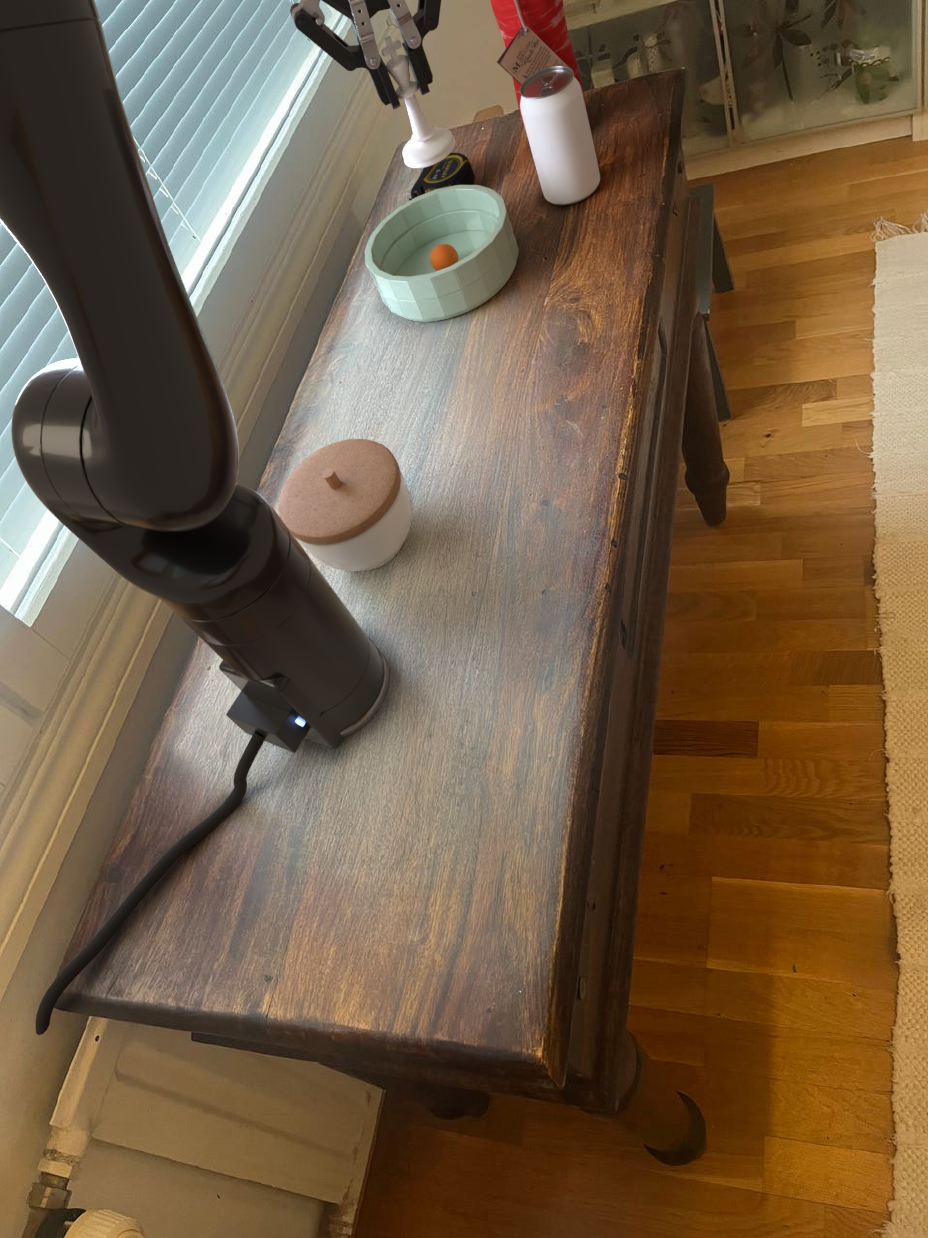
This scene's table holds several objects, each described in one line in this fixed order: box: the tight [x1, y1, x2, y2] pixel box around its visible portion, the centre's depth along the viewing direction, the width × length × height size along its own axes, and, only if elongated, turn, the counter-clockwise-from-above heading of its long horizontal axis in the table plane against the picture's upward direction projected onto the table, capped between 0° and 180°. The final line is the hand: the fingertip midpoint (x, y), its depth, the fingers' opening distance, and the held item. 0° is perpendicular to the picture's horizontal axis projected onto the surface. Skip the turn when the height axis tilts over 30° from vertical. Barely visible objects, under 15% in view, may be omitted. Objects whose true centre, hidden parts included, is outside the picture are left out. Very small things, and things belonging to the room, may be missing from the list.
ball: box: [431, 244, 458, 271], centre depth 100 cm, size 3×3×3 cm
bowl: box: [364, 184, 520, 323], centre depth 99 cm, size 16×16×6 cm
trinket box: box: [278, 438, 413, 572], centre depth 79 cm, size 11×11×9 cm
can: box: [520, 66, 601, 207], centre depth 98 cm, size 6×6×12 cm
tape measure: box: [408, 152, 476, 201], centre depth 109 cm, size 7×7×4 cm
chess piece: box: [380, 35, 456, 169], centre depth 80 cm, size 5×5×10 cm
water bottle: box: [489, 0, 588, 129], centre depth 100 cm, size 12×8×25 cm, turn 166°
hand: (409, 96), depth 80 cm, fingers closed on chess piece
